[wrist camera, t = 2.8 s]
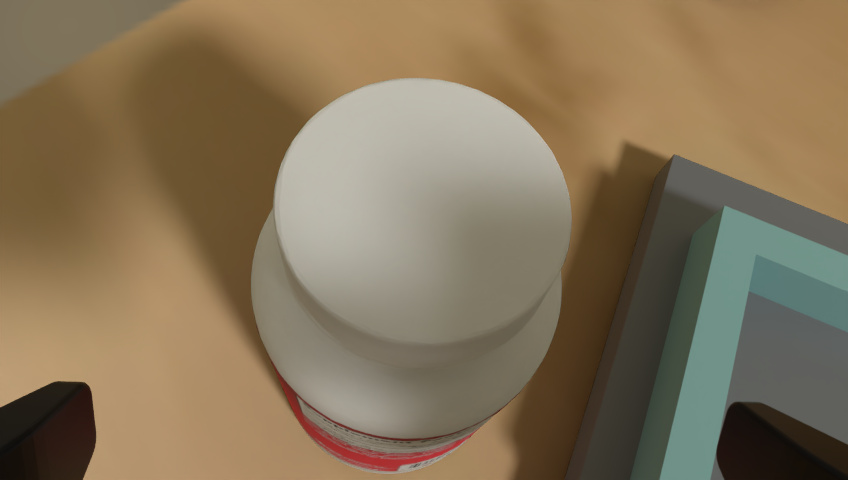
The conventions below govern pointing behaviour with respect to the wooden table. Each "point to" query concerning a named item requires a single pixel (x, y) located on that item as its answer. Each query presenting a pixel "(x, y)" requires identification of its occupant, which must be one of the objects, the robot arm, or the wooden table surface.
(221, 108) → the wooden table surface
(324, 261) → the pill bottle
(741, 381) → the jig board
